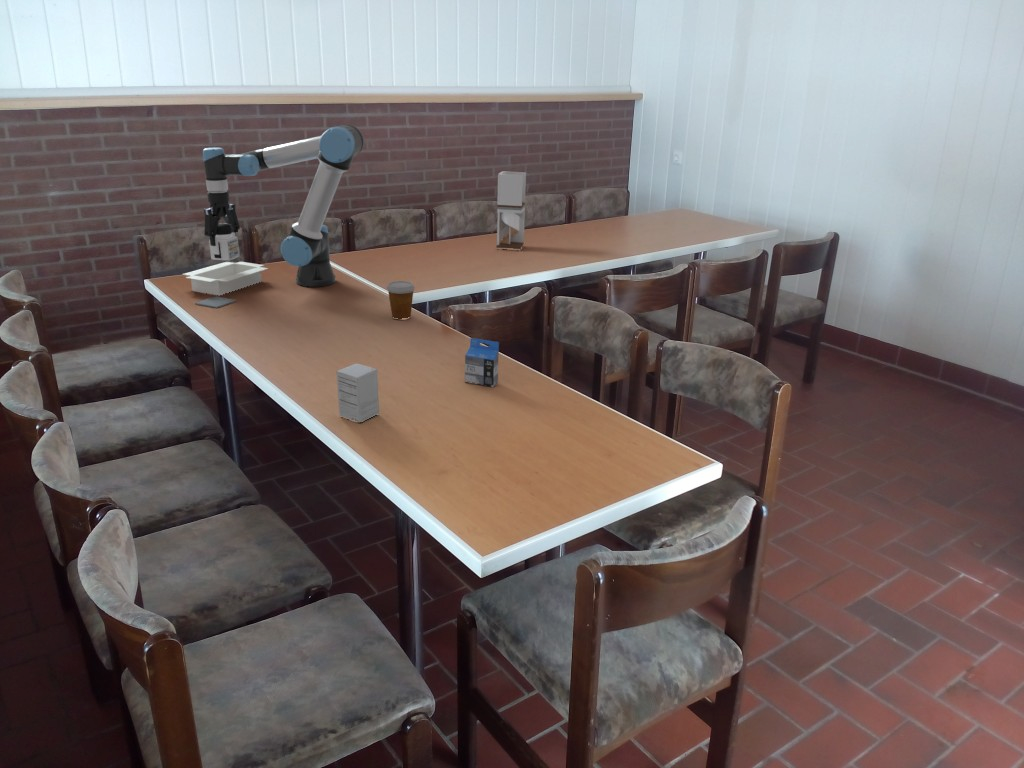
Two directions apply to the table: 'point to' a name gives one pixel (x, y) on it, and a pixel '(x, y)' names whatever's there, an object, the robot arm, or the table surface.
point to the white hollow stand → (511, 209)
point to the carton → (225, 277)
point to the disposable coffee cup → (401, 298)
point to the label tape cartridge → (482, 362)
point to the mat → (215, 302)
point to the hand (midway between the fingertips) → (224, 251)
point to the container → (225, 243)
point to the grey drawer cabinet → (358, 392)
